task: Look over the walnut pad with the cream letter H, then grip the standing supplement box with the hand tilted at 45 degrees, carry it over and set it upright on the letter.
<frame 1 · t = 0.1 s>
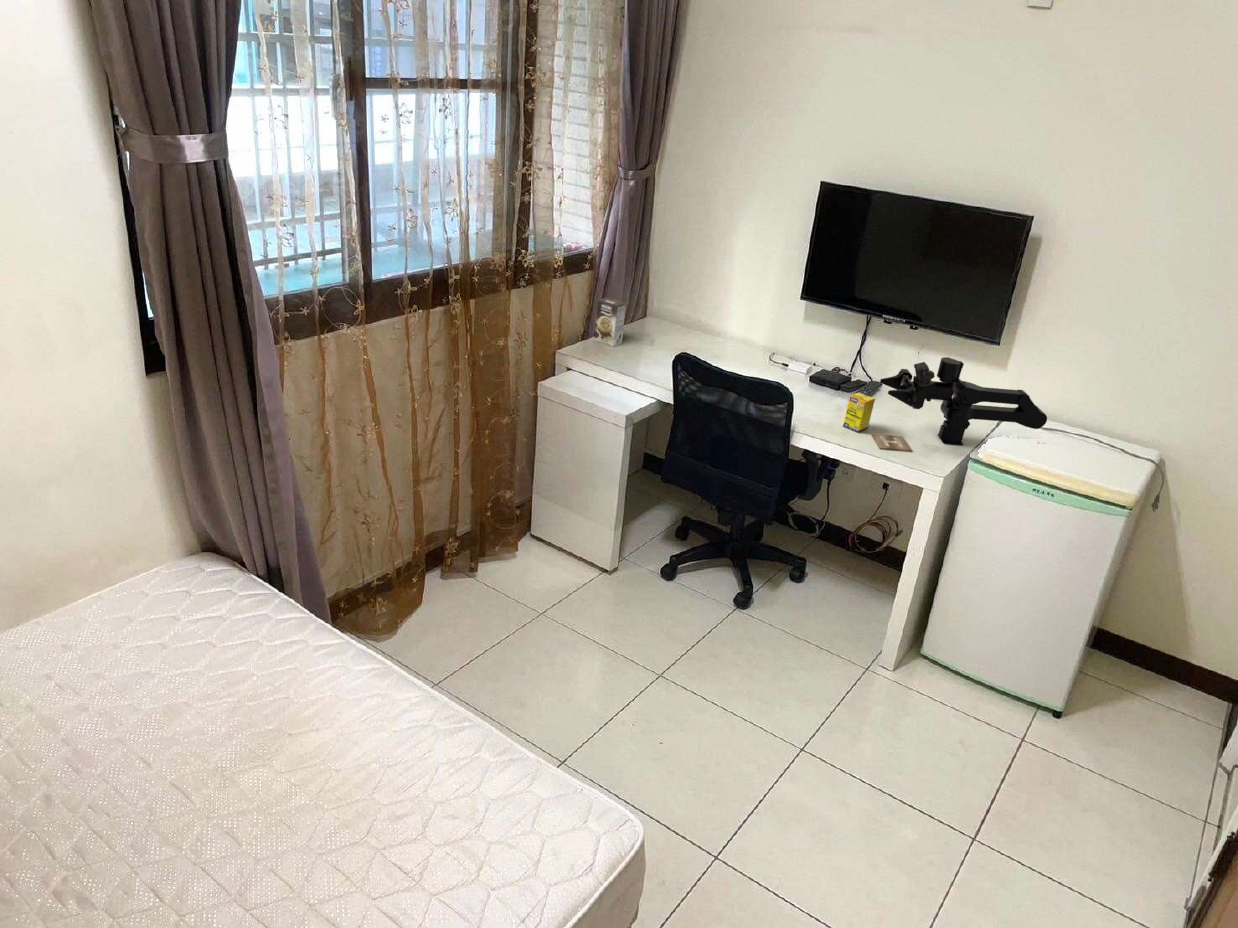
hand: (884, 386, 277), 17 cm above the table, tool horizontal, fingers open, 9 cm apart
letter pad: (890, 443, 279), on the table
supplement box: (855, 428, 288), on the table
coffee box: (608, 342, 339), on the table
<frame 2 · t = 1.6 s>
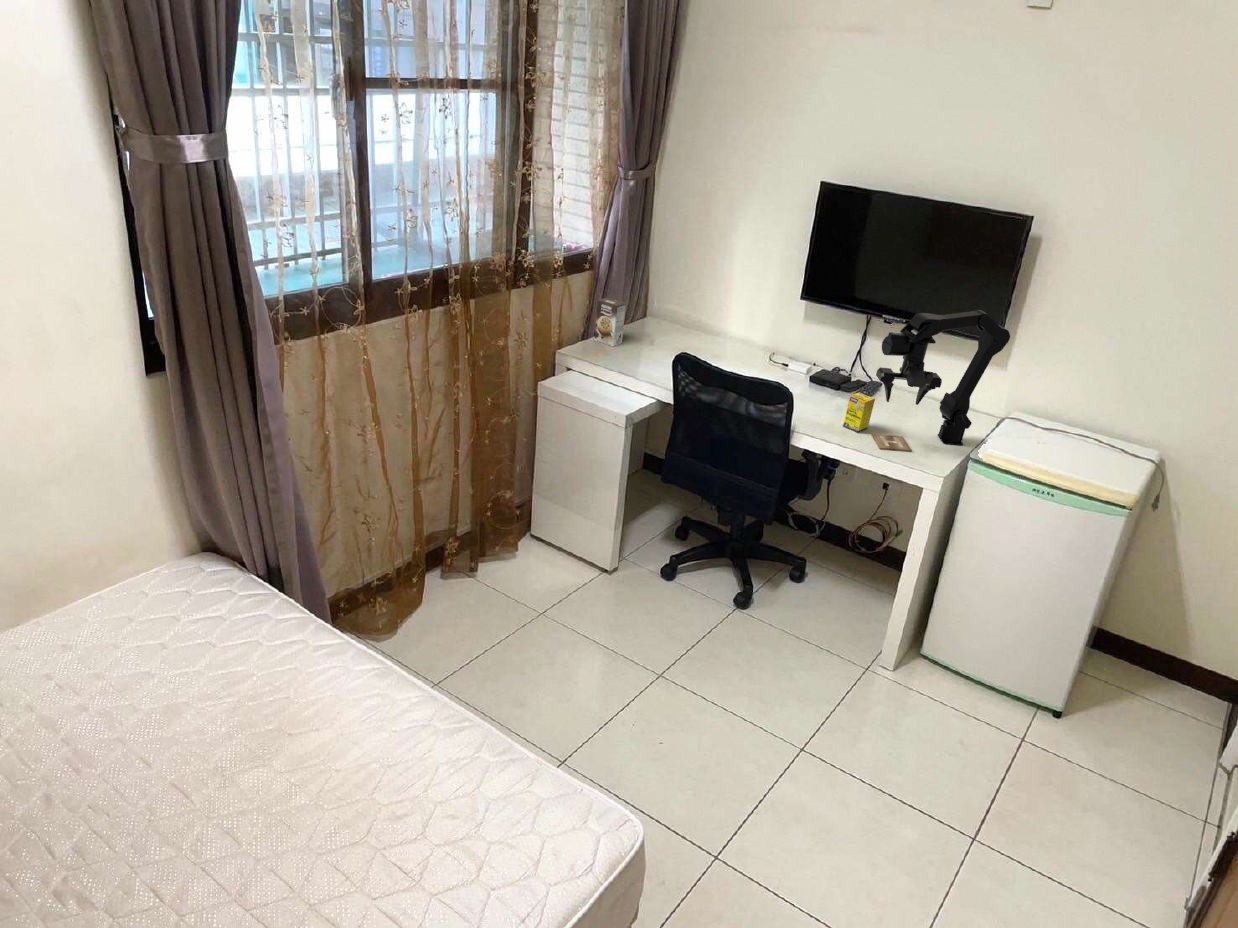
hand: (902, 403, 275), 13 cm above the table, tool pointing down, fingers open, 9 cm apart
nothing on the table moved.
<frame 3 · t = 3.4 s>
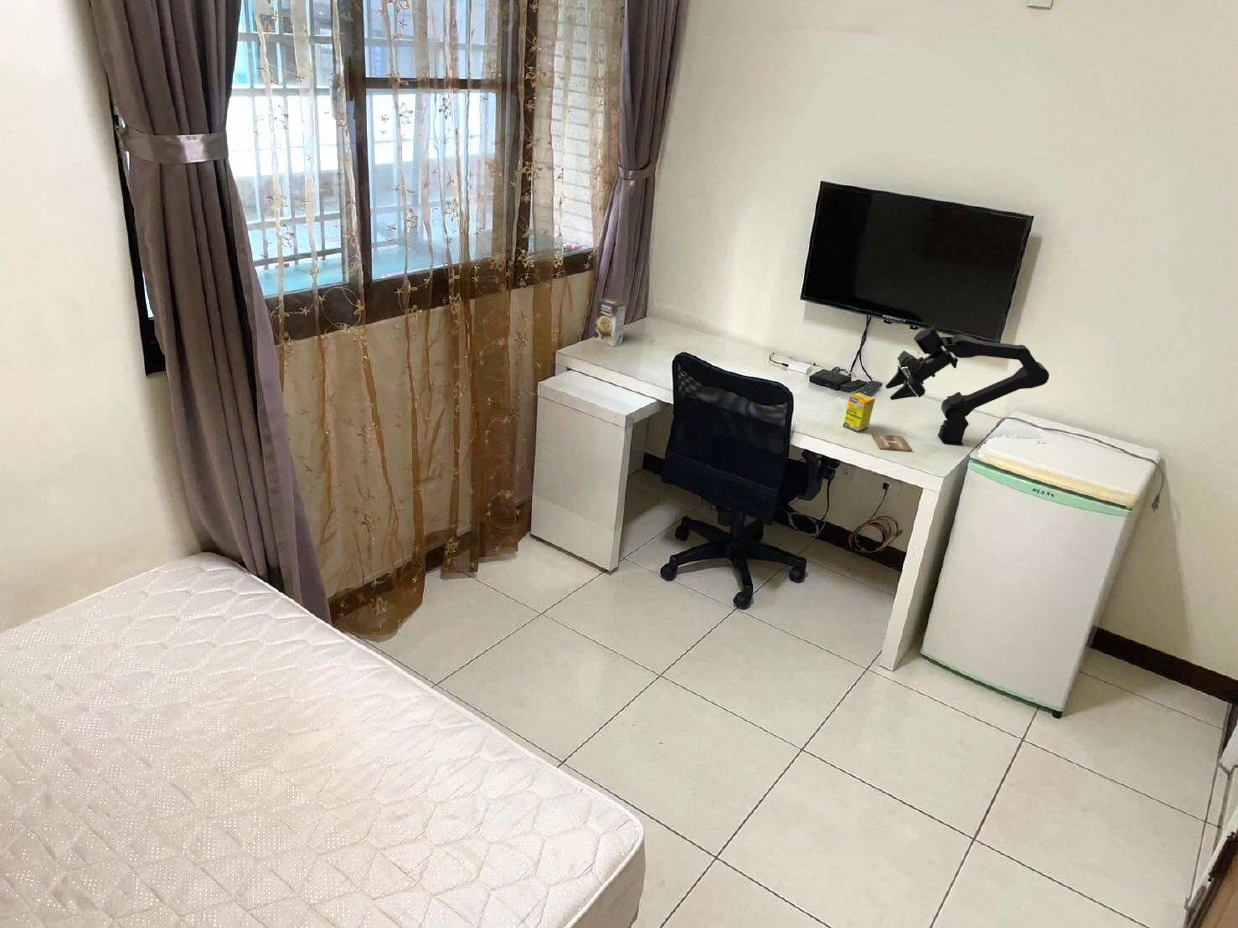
hand: (888, 393, 281), 13 cm above the table, tool tilted 45°, fingers open, 9 cm apart
nothing on the table moved.
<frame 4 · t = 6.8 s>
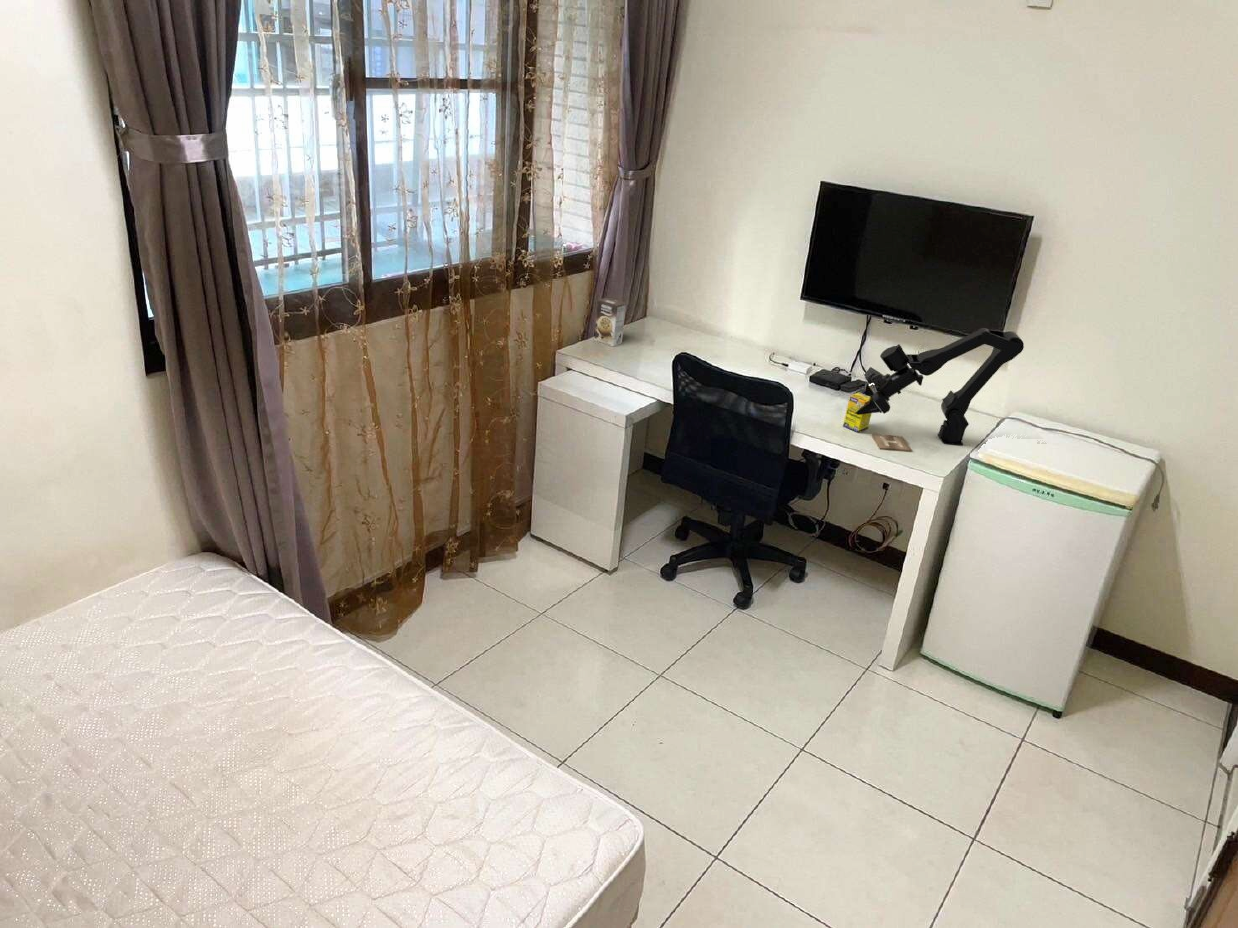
hand: (855, 408, 285), 7 cm above the table, tool tilted 45°, fingers closed on supplement box, 8 cm apart
supplement box: (855, 428, 288), on the table, touching gripper
everything else where it was.
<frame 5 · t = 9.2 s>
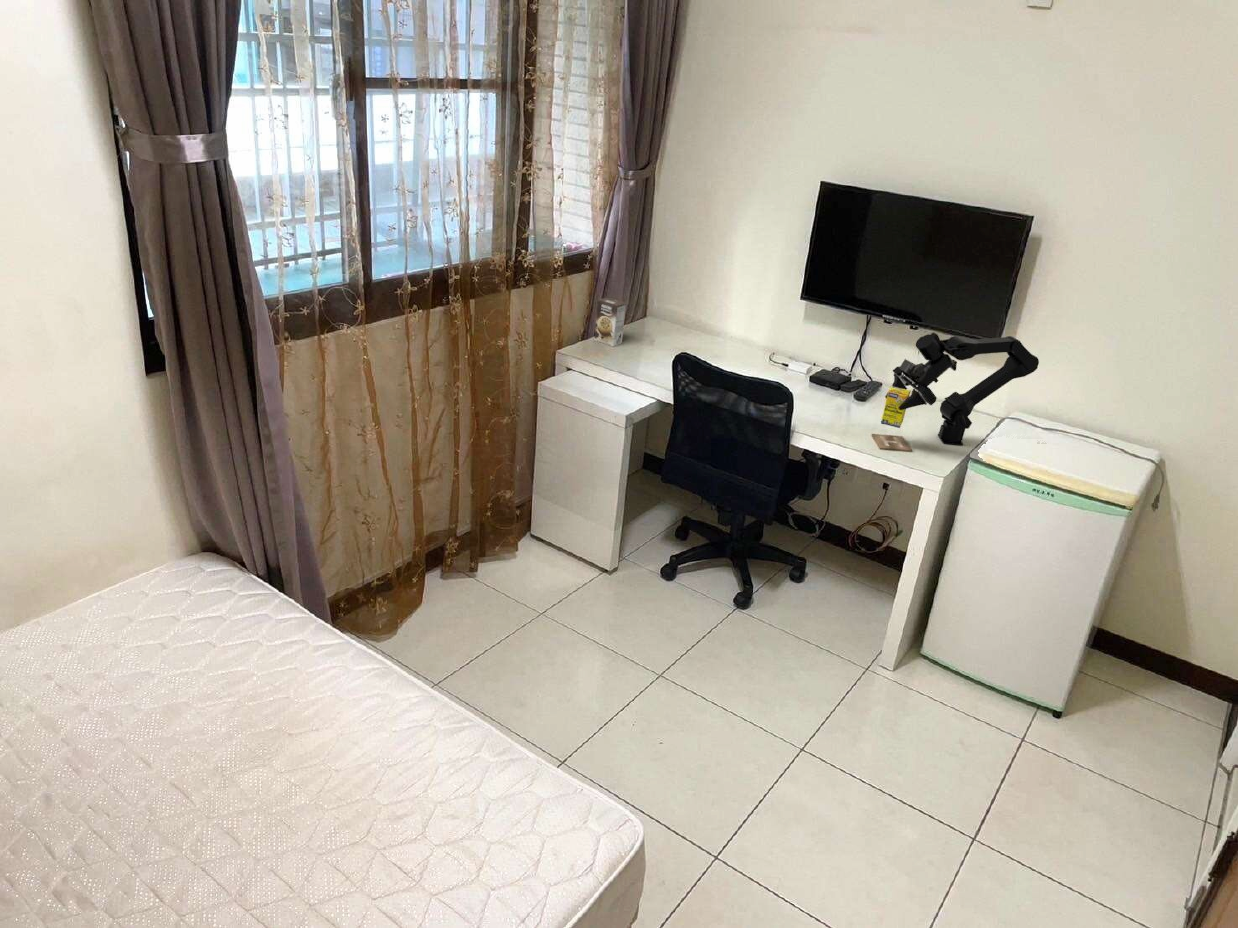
hand: (892, 403, 274), 13 cm above the table, tool tilted 45°, fingers closed on supplement box, 8 cm apart
supplement box: (891, 423, 277), point 6 cm above the table, touching gripper
everything else where it was.
when the fingers open (8 cm above the table, at t = 11.6 s): supplement box stays where it is, resting on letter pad.
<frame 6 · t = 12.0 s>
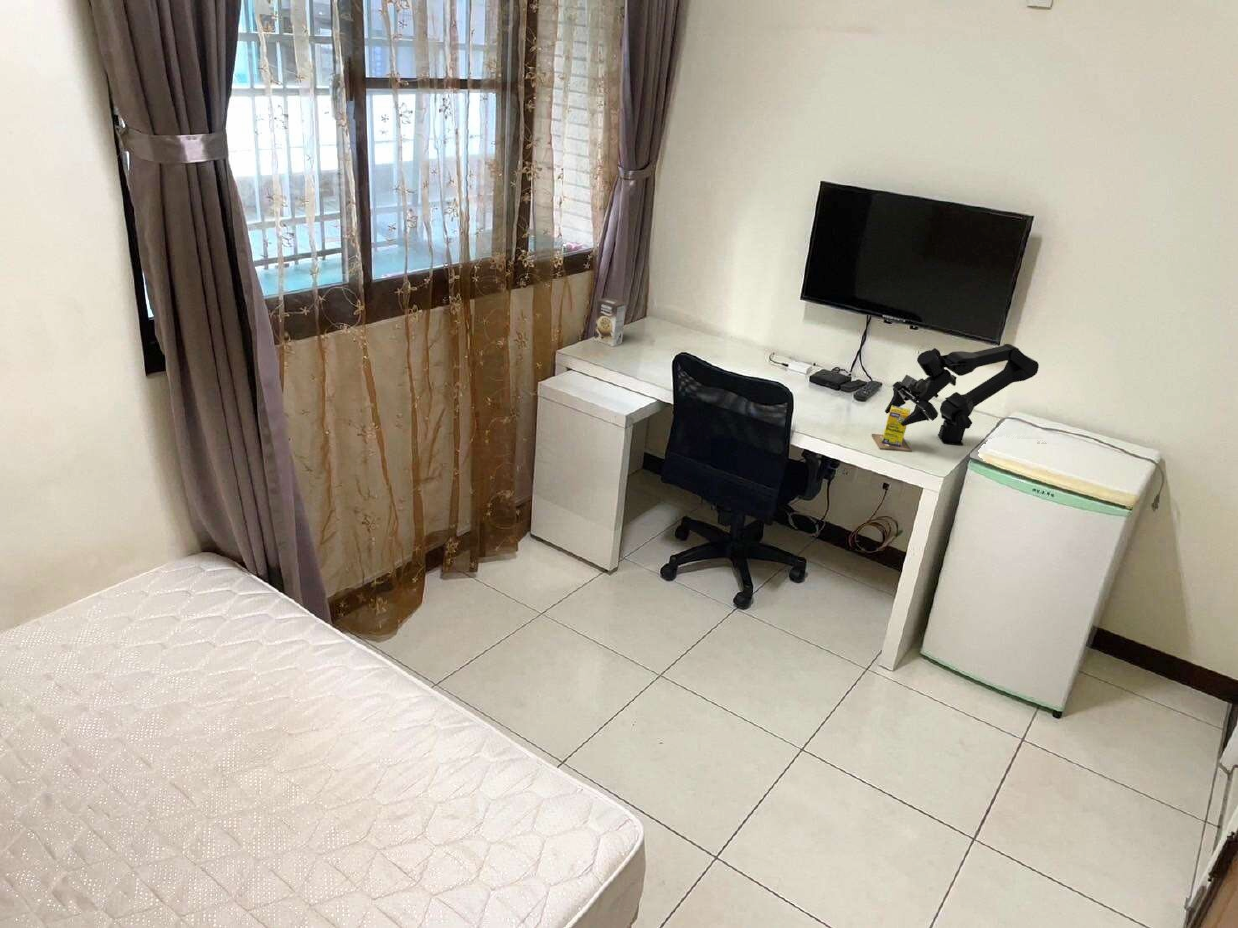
hand: (893, 418, 275), 9 cm above the table, tool tilted 45°, fingers open, 9 cm apart
supplement box: (891, 442, 279), resting on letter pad
everything else where it was.
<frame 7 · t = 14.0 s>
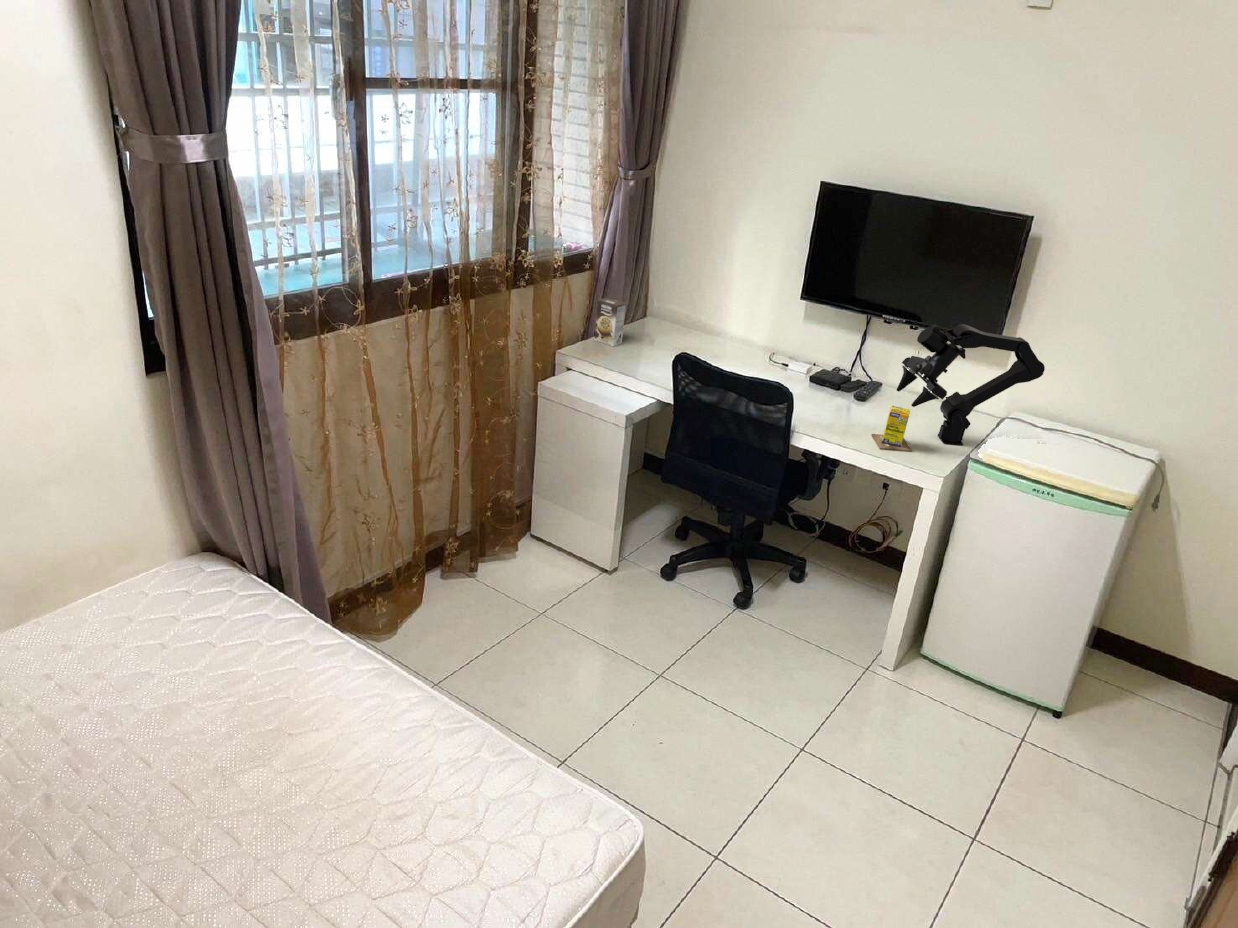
hand: (904, 398, 278), 13 cm above the table, tool tilted 30°, fingers open, 9 cm apart
nothing on the table moved.
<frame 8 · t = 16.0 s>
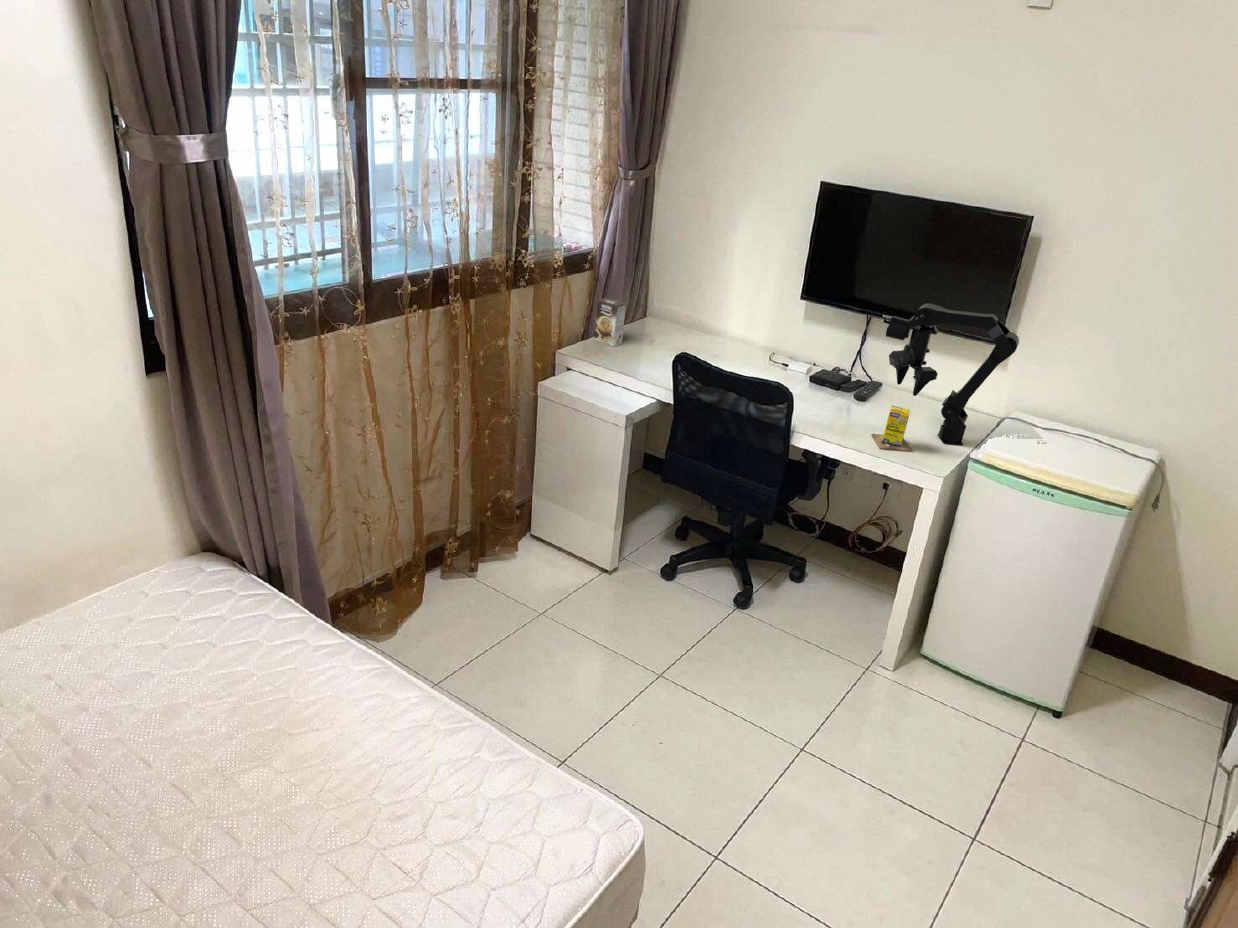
hand: (906, 389, 286), 13 cm above the table, tool pointing down, fingers open, 9 cm apart
nothing on the table moved.
at the end: supplement box 0.2 cm off-centre on the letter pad, point 0.4 cm above the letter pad's base; supplement box tilted 0°; the gripper is holding nothing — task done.
